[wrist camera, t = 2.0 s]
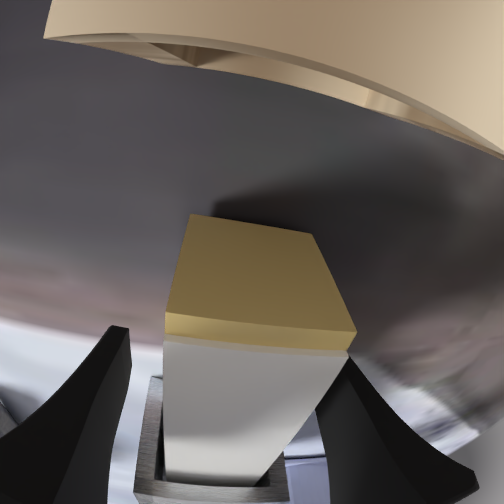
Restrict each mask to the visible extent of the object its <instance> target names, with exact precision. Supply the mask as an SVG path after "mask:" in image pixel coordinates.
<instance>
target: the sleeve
mask: <svg viewBox="0 0 504 504" xmlns="http://www.w3.org/2000/svg"><path fill="white" fill-rule="evenodd" d="M133 493H134V495H135V497H136V499H137V500H138V502H139V504H287V503H288V502H290V496H289V488H288V481H287V474H286V467H285V459H284V452H283V451H282V453H281V454H280V455H279V456H278V458H277V459H276V460H275V461H274V462H273V464H272V465H271V466H270V467H269V468H268V470H267V471H266V472H265V473H264V474H263V475H262V477H261V478H260V479H259V480H258V481H257V482H256V483H255V485H254V486H253V487H216V486H201V485H190V484H180V483H172V482H167V480H166V467H165V450H164V426H163V379H161V378H154V377H150V382H149V388H148V393H147V399H146V405H145V410H144V416H143V423H142V429H141V436H140V442H139V449H138V457H137V464H136V472H135V481H134V490H133Z"/></svg>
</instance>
